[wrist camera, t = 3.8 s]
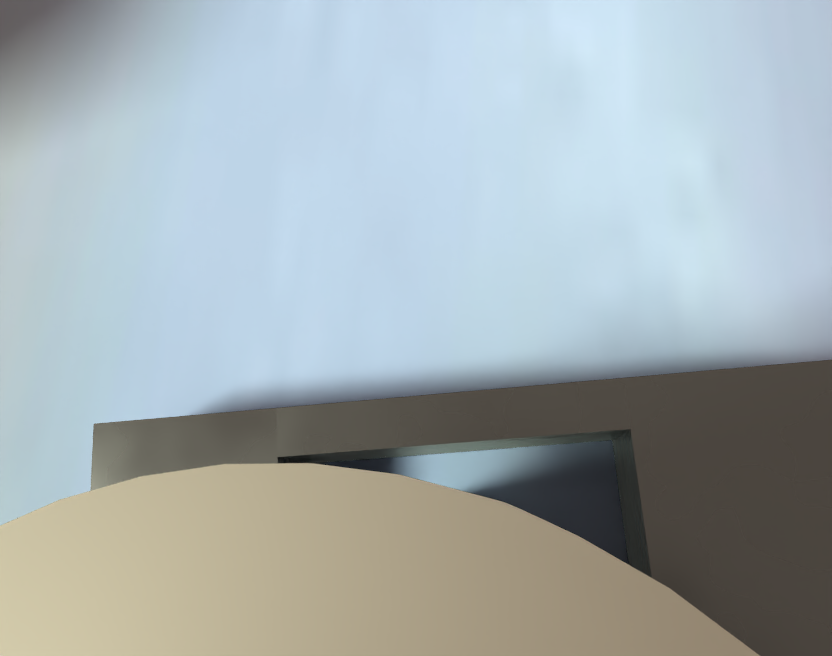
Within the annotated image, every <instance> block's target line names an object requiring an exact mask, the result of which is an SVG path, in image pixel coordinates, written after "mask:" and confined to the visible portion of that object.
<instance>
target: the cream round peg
mask: <svg viewBox="0 0 832 656" xmlns="http://www.w3.org/2000/svg"><path fill="white" fill-rule="evenodd" d="M0 656H760V655H758V654H757V653H756V652H754V651H753V650H752V649H750V648H749V647H748V646H746V645H745V644H744V643H742V642H741V641H740V640H738V639H737V638H736V637H734V636H733V635H732V634H730V633H729V632H728V631H726V630H725V629H723V628H722V627H721V626H719V625H718V624H717V623H715V622H714V621H713V620H711V619H710V618H709V617H707V616H706V615H705V614H703V613H702V612H701V611H699V610H698V609H697V608H695V607H694V606H693V605H691V604H690V603H689V602H687V601H686V600H685V599H683V598H682V597H681V596H679V595H678V594H677V593H675V592H674V591H673V590H671V589H670V588H668V587H667V586H665V585H663V584H661V583H660V582H658V581H656V580H654V579H653V578H651V577H649V576H647V575H646V574H644V573H642V572H640V571H639V570H637V569H635V568H633V567H632V566H630V565H628V564H626V563H625V562H623V561H621V560H619V559H618V558H616V557H614V556H612V555H611V554H609V553H607V552H606V551H604V550H602V549H600V548H599V547H597V546H595V545H593V544H592V543H590V542H588V541H586V540H585V539H583V538H581V537H579V536H577V535H575V534H573V533H571V532H569V531H567V530H565V529H562V528H560V527H558V526H556V525H554V524H552V523H550V522H547V521H545V520H543V519H541V518H539V517H537V516H535V515H532V514H530V513H528V512H526V511H524V510H522V509H520V508H517V507H515V506H513V505H510V504H508V503H505V502H502V501H498V500H495V499H491V498H487V497H483V496H479V495H476V494H472V493H468V492H464V491H460V490H456V489H453V488H449V487H445V486H441V485H437V484H433V483H430V482H426V481H422V480H418V479H414V478H410V477H407V476H403V475H399V474H391V473H383V472H376V471H368V470H360V469H352V468H344V467H337V466H329V465H321V464H313V463H277V464H221V465H214V466H208V467H201V468H194V469H187V470H181V471H174V472H167V473H160V474H154V475H147V476H140V477H137V478H133V479H130V480H126V481H123V482H120V483H116V484H113V485H109V486H106V487H102V488H99V489H95V490H92V491H89V492H85V493H82V494H78V495H75V496H71V497H68V498H64V499H61V500H58V501H56V502H53V503H51V504H49V505H47V506H44V507H42V508H40V509H37V510H35V511H33V512H31V513H28V514H26V515H24V516H21V517H19V518H17V519H15V520H12V521H10V522H8V523H5V524H3V525H1V526H0Z"/></svg>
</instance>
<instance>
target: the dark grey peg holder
mask: <svg viewBox="0 0 832 656" xmlns="http://www.w3.org/2000/svg"><path fill="white" fill-rule="evenodd" d="M608 440H612V444H613V452H614V459H615V466H616V474H617V481H618V488H619V496H620V503H621V510H622V518H623V525H624V533H625V540H626V547H627V555H628V562H629V565H630V566H632V567H633V568H635V569H637V570H639V571H640V572H642V573H644V574H646V575H647V576H649V577H651V578H653V579H654V580H656V581H658V582H660V583H661V584H663V585H665V586H667V587H668V588H670V589H671V590H673V591H674V592H675V593H677V594H678V595H679V596H681V597H682V598H683V599H685V600H686V601H687V602H689V603H690V604H691V605H693V606H694V607H695V608H697V609H698V610H699V611H701V612H702V613H703V614H705V615H706V616H707V617H709V618H710V619H711V620H713V621H714V622H715V623H717V624H718V625H719V626H721V627H722V628H723V629H725V630H726V631H728V632H729V633H730V634H732V635H733V636H734V637H736V638H737V639H738V640H740V641H741V642H742V643H744V644H745V645H746V646H748V647H749V648H750V649H752V650H753V651H754V652H756V653H757V654H758V655H760V656H832V360H824V361H812V362H801V363H789V364H778V365H766V366H755V367H743V368H732V369H720V370H709V371H697V372H686V373H674V374H663V375H651V376H640V377H628V378H616V379H605V380H593V381H582V382H570V383H559V384H547V385H536V386H524V387H513V388H501V389H490V390H478V391H467V392H455V393H444V394H432V395H421V396H409V397H398V398H386V399H375V400H363V401H351V402H340V403H328V404H317V405H305V406H294V407H282V408H271V409H259V410H248V411H236V412H225V413H213V414H202V415H190V416H179V417H167V418H156V419H144V420H133V421H121V422H109V423H98V424H94V429H93V451H92V473H91V491H92V490H95V489H99V488H102V487H106V486H109V485H113V484H116V483H120V482H123V481H126V480H130V479H133V478H137V477H140V476H147V475H154V474H160V473H167V472H174V471H181V470H187V469H194V468H201V467H208V466H214V465H221V464H277V463H326V462H339V461H351V460H364V459H377V458H390V457H403V456H416V455H428V454H441V453H454V452H467V451H480V450H493V449H505V448H518V447H531V446H544V445H557V444H570V443H583V442H595V441H608Z"/></svg>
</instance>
